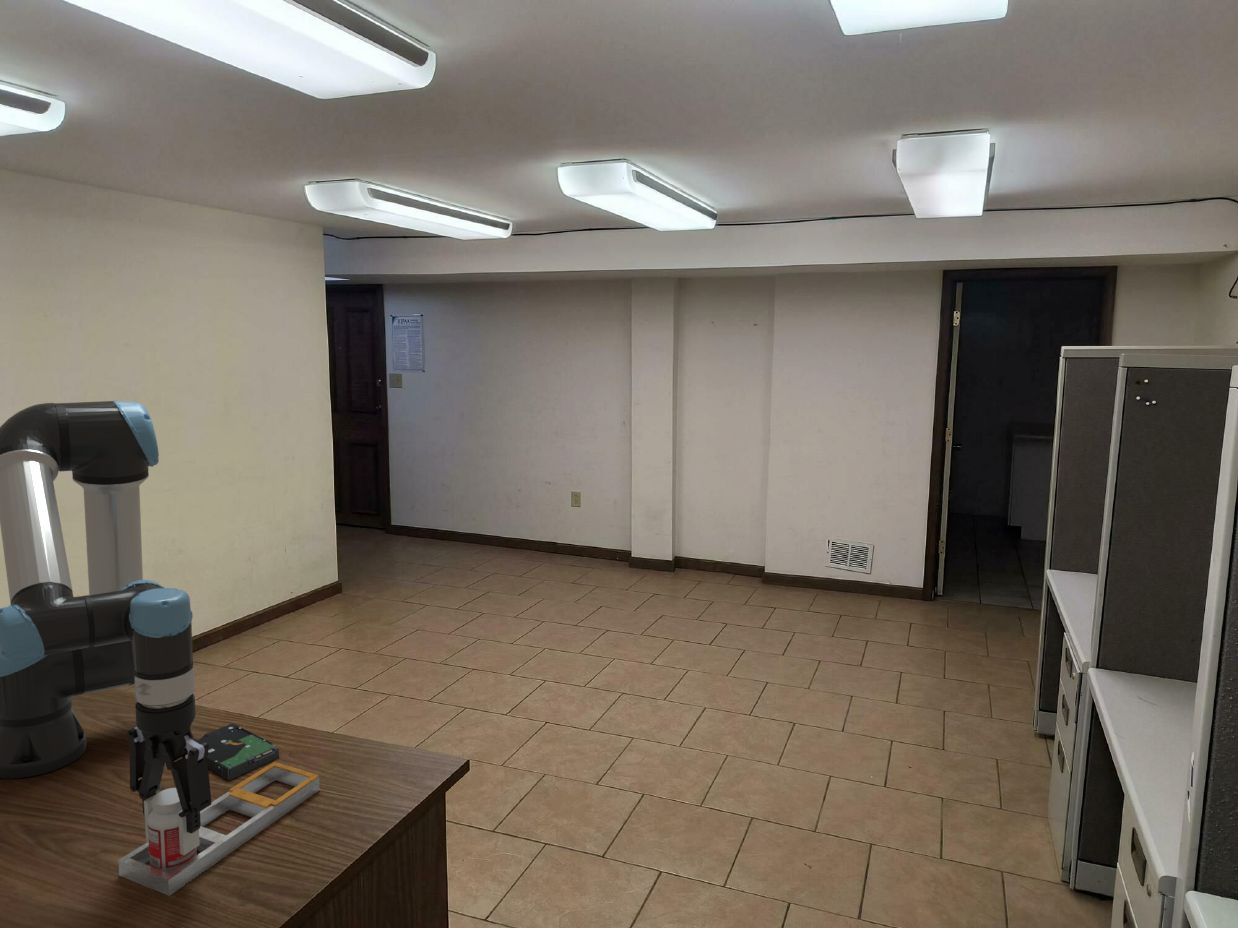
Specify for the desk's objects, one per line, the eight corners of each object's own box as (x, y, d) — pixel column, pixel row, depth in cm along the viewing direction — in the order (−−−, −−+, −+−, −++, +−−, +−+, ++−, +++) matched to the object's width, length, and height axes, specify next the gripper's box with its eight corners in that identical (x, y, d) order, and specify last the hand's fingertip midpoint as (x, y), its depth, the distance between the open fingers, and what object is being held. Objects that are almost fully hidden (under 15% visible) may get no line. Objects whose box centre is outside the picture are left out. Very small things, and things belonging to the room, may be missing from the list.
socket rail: (119, 875, 122) (118, 858, 122) (274, 775, 150) (274, 761, 149) (169, 895, 119) (168, 877, 118) (319, 789, 146) (319, 775, 146)
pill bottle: (204, 850, 128) (201, 784, 126) (185, 877, 122) (182, 808, 120) (162, 849, 128) (159, 783, 126) (141, 876, 122) (137, 807, 120)
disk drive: (181, 757, 156) (229, 783, 148) (180, 743, 155) (228, 768, 147) (232, 735, 164) (281, 758, 156) (232, 722, 164) (280, 744, 156)
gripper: (93, 693, 121) (103, 838, 125) (192, 723, 114) (199, 876, 118) (141, 673, 127) (148, 812, 132) (236, 701, 120) (241, 846, 125)
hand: (172, 842), depth 125 cm, fingers closed on pill bottle, 6 cm apart
